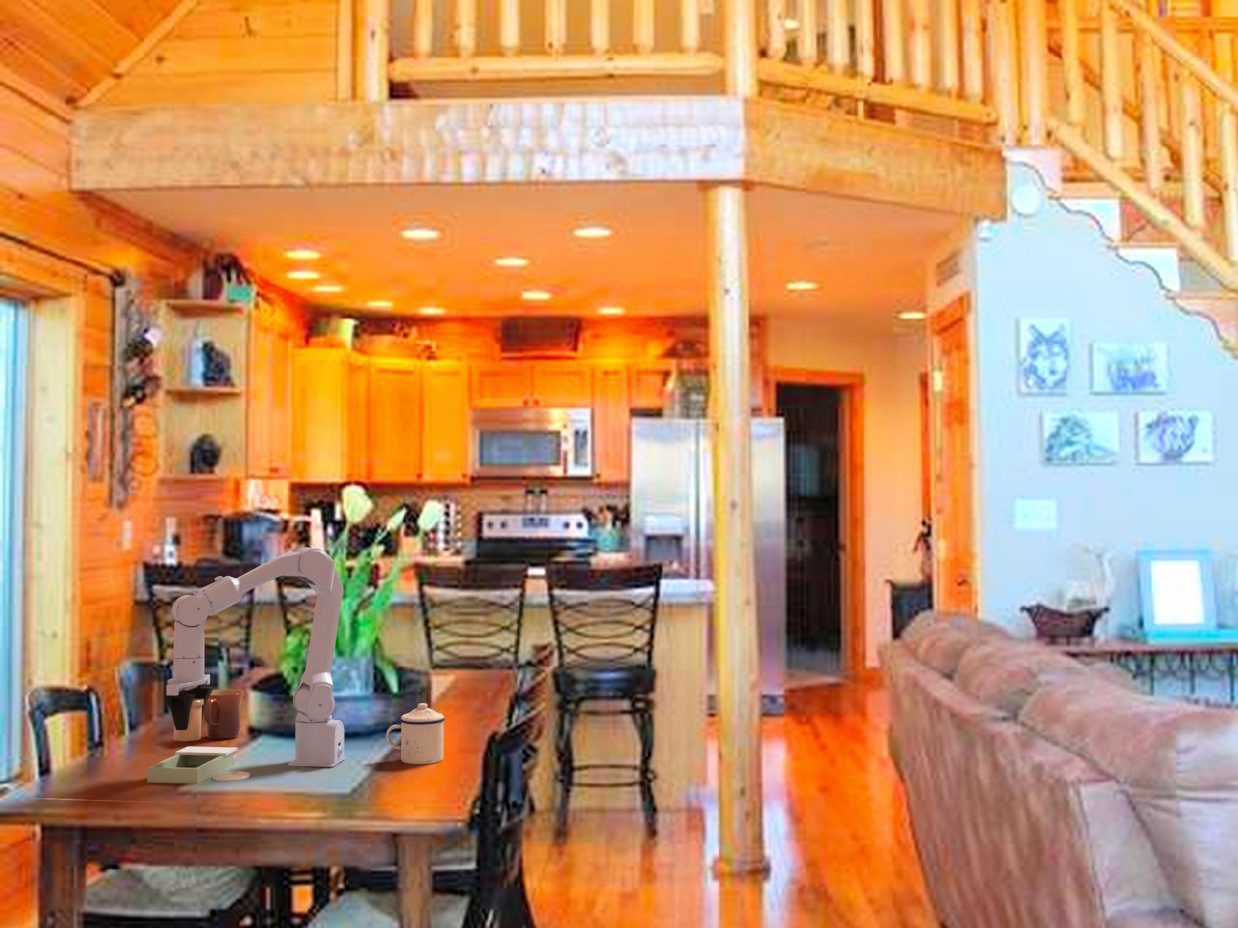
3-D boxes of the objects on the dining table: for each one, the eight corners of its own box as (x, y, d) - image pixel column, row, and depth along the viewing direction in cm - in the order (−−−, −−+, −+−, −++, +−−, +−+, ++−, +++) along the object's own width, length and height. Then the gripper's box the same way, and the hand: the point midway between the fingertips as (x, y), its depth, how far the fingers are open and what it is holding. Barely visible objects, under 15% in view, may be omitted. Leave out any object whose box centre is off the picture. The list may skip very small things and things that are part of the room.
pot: (207, 736, 244) (208, 698, 244) (194, 741, 238) (195, 702, 238) (180, 735, 244) (181, 697, 245) (166, 740, 239) (168, 701, 239)
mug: (215, 733, 285) (216, 688, 285) (250, 734, 283) (250, 689, 284) (187, 743, 273) (188, 696, 274) (223, 745, 272) (224, 698, 272)
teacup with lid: (446, 755, 261) (447, 700, 261) (441, 765, 252) (441, 707, 252) (389, 755, 260) (390, 700, 261) (382, 765, 251) (382, 707, 252)
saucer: (255, 774, 243) (255, 771, 243) (240, 783, 236) (240, 779, 236) (221, 773, 243) (221, 770, 243) (205, 782, 236) (205, 778, 237)
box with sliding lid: (237, 765, 251) (237, 747, 252) (198, 785, 234) (199, 766, 234) (187, 763, 253) (187, 746, 253) (145, 783, 235) (145, 765, 235)
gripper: (186, 652, 249) (185, 719, 249) (151, 661, 235) (150, 733, 235) (220, 652, 249) (219, 720, 248) (186, 662, 234) (186, 734, 234)
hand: (188, 727), depth 241 cm, fingers closed on pot, 5 cm apart
